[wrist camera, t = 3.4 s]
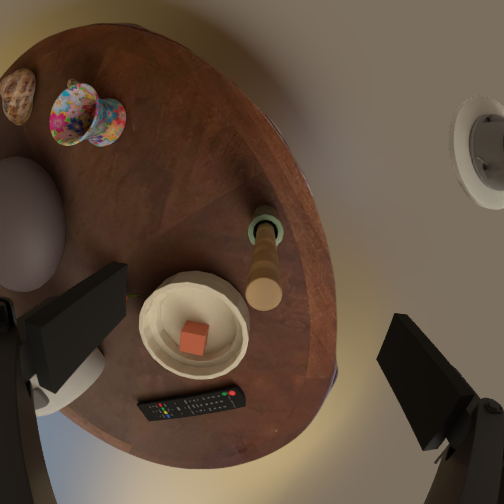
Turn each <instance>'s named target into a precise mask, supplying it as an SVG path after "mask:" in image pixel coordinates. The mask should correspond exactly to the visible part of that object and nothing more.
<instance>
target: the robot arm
mask: <svg viewBox="0 0 504 504" xmlns="http://www.w3.org/2000/svg"><path fill="white" fill-rule="evenodd" d="M469 151H470V157H471V161H472V165H473V167H474V170H475V172H476V174H477V176H478V177H479V179H480V180H481V181H482V183H483V184H484V185H486V186H487V187H488V188H490V189H493V190H498V191H504V117H503V116H500V115H497V114H487V115H482V116H480V117H479V118H477V119H476V121H475V122H474V123H473V125H472V128H471V131H470V136H469ZM126 288H127V264H124V263H119V262H115V261H113V262H112V263H110V264H108V265H107V266H105V267H104V268H102V269H100V270H99V271H97V272H96V273H94V274H92V275H91V276H89V277H88V278H86V279H84V280H83V281H81V282H80V283H78V284H77V285H75V286H74V287H72V288H71V289H69V290H67V291H66V292H64V293H63V294H61V295H60V296H59V295H57V296H54V297H51V298H48V299H46V300H44V301H43V302H41V303H40V305H37V306H35V307H34V308H33V309H31V310H29V311H28V312H26V313H25V314H23V315H22V316H21V317H19V318H18V319H16V316H15V310H14V304H13V301H12V300H11V299H9V298H7V297H0V504H57V502H56V499H55V496H54V493H53V490H52V487H51V483H50V479H49V476H48V472H47V469H46V464H45V460H44V456H43V452H42V447H41V443H40V437H39V431H38V426H37V419H36V413H35V405H34V397H33V387H32V383H31V380H30V379H31V378H32V377H33V376H34V375H35V374H36V375H37V379H38V383H39V386H40V387H42V388H44V389H46V390H48V391H50V392H52V393H54V394H56V393H57V392H58V391H59V389H60V388H61V387H62V386H63V385H64V384H65V383H66V381H67V380H68V379H69V378H70V377H71V376H72V374H73V373H74V372H75V371H76V370H77V369H78V368H79V366H80V365H81V364H82V363H83V362H84V361H85V360H86V359H87V357H88V356H89V355H90V354H91V353H92V352H93V351H94V350H95V349H96V347H97V346H98V345H99V344H100V343H101V342H102V341H103V340H104V339H105V338H106V336H107V335H108V334H109V333H110V332H111V331H112V330H113V329H114V328H115V327H116V326H117V325H118V323H119V322H120V321H121V320H122V319H123V318H124V317H125V316H126ZM376 360H377V361H378V363H379V365H380V367H381V369H382V371H383V373H384V374H385V376H386V378H387V380H388V382H389V384H390V386H391V388H392V390H393V392H394V394H395V395H396V397H397V399H398V401H399V403H400V405H401V407H402V409H403V411H404V413H405V415H406V417H407V419H408V421H409V423H410V425H411V427H412V429H413V431H414V434H415V436H416V437H417V440H418V442H419V444H420V446H421V448H422V450H423V451H427V450H432V449H438V447H439V446H440V445H441V444H442V442H443V441H444V440H445V438H447V440H448V442H449V445H448V446H447V447H446V448H445V450H444V451H443V452H442V454H441V455H440V456H439V457H438V458H437V460H436V461H435V462H434V463H435V464H436V463H437V462H438V461H439V460H441V462H440V465H439V467H438V470H437V473H436V476H435V478H434V481H433V483H432V486H431V488H430V491H429V493H428V495H427V498H426V500H425V502H424V504H504V410H503V408H502V407H501V405H500V404H499V403H498V402H496V401H494V400H493V399H489V398H482V399H480V398H479V396H478V395H477V394H476V393H475V391H474V390H473V389H472V388H471V386H470V385H469V384H468V383H467V382H466V380H465V379H464V378H463V377H462V375H461V374H460V373H459V372H458V371H457V369H456V368H454V367H453V366H452V365H451V364H450V363H449V362H448V361H447V359H446V358H445V357H444V356H443V355H442V354H441V352H440V351H439V350H438V349H437V348H436V347H435V345H434V344H433V343H432V342H431V341H430V340H429V339H428V337H427V336H426V335H425V334H424V333H423V332H422V331H421V330H420V328H419V327H418V326H417V325H416V324H415V323H414V322H413V321H412V320H411V319H410V317H409V316H408V315H406V314H398V313H394V316H393V319H392V322H391V324H390V327H389V329H388V332H387V335H386V337H385V340H384V342H383V345H382V347H381V349H380V352H379V354H378V357H377V359H376Z"/></svg>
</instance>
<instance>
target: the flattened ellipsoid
mask: <svg viewBox="0 0 504 504" xmlns="http://www.w3.org/2000/svg"><path fill="white" fill-rule="evenodd" d="M65 237H66V220H65V214H64V207H63V204H62V200H61V197H60V194H59V192H58V189H57V187H56V185H55V183H54V181H53V180H52V178H51V177H50V175H49V174H48V173H47V172H46V171H45V170H44V169H43V168H42V167H41V166H40V165H39V164H38V163H36V162H34V161H33V160H31V159H27V158H23V157H19V156H15V157H9V158H5V159H3V160H1V161H0V284H1V285H2V286H4V287H5V288H7V289H10V290H13V291H18V292H28V291H32V290H35V289H38V288H40V287H41V286H42V285H44V284H45V283H46V282H47V281H48V280H49V279H50V278H51V277H52V276H53V274H54V273H55V272H56V269H57V267H58V265H59V263H60V260H61V258H62V254H63V250H64V247H65Z"/></svg>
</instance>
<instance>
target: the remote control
mask: <svg viewBox="0 0 504 504" xmlns="http://www.w3.org/2000/svg"><path fill="white" fill-rule="evenodd" d="M245 405H246V402H245V395H244V392H243V391H242V390H241V388H239V387H237V386H232V387H228V388H223V389H218V390H214V391H209V392H204V393H198V394H193V395H187V396H182V397H176V398H169V399H163V400H156V401H149V402H141V403H138V404H137V406H138V407H139V409H140V410H141V411H142V413H143V414H144V415H145V417H146V418H147V419H148V421H156V420H165V419H174V418H182V417H189V416H196V415H202V414H208V413H214V412H220V411H225V410H230V409H235V408H240V407H245Z"/></svg>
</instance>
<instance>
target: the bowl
mask: <svg viewBox="0 0 504 504" xmlns="http://www.w3.org/2000/svg"><path fill="white" fill-rule="evenodd" d="M187 320H188V321H193V322H197V323H202V324H207V325H209V331H208V338H207V345H206V347H205V350H204V353H203V356H200V355H196V354H191V353H187V352H183V351H180V338H181V330H182V328H183V327H184V325H185V323H186V321H187ZM139 331H140V334H141V337H142V340H143V343H144V345H145V347H146V348H147V350H148V351H149V353H150V354H151V356H152V357H153V358H154V359H155V360H156V361H157V362H158V363H160V364H161V365H162V366H163V367H164V368H166V369H167V370H169V371H171V372H173V373H175V374H177V375H180V376H183V377H188V378H192V379H212V378H215V377H219V376H222V375H225V374H227V373H228V372H229V371H231V370H232V369H234V368H235V367H236V366H237V365H238V364H239V363H240V361H241V360H242V358H243V357H244V355H245V353H246V349H247V344H248V339H249V331H250V317H249V311H248V307H247V305H246V303H245V301H244V300H243V298H242V296H241V294H240V293H239V292H238V291H237V290H236V289H235V288H234V287H233V286H232V285H231V284H230V283H229V282H227V281H225V280H224V279H222V278H220V277H218V276H216V275H214V274H211V273H206V272H201V271H188V272H180V273H177V274H175V275H173V276H171V277H169V278H167V279H165V280H164V282H163V283H162V284H161V285H160V286H159V287H158V288H157V289H156V290H155V291H154V292H153V293H152V294H151V295H150V296H149V297H148V298H147V299H146V301H145V302H144V305H143V307H142V310H141V312H140V315H139Z"/></svg>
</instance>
